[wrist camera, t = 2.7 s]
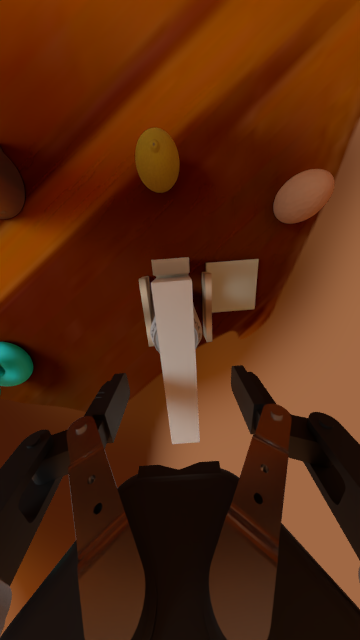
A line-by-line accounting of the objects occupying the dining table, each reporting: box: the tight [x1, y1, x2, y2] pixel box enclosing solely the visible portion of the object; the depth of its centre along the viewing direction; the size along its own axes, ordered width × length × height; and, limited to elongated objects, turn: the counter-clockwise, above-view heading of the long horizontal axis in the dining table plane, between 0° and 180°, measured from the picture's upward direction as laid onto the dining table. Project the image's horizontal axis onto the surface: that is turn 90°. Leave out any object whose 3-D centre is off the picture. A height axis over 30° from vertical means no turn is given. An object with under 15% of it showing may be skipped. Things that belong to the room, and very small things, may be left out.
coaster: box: [206, 259, 259, 312], centre depth 30 cm, size 9×9×1 cm
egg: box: [273, 169, 335, 224], centre depth 23 cm, size 6×6×8 cm
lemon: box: [135, 128, 180, 193], centre depth 21 cm, size 6×6×8 cm
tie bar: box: [151, 275, 200, 444], centre depth 14 cm, size 14×2×3 cm, turn 4°
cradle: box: [139, 257, 212, 346], centre depth 23 cm, size 17×12×19 cm
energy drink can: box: [150, 305, 202, 353], centre depth 25 cm, size 6×6×15 cm
